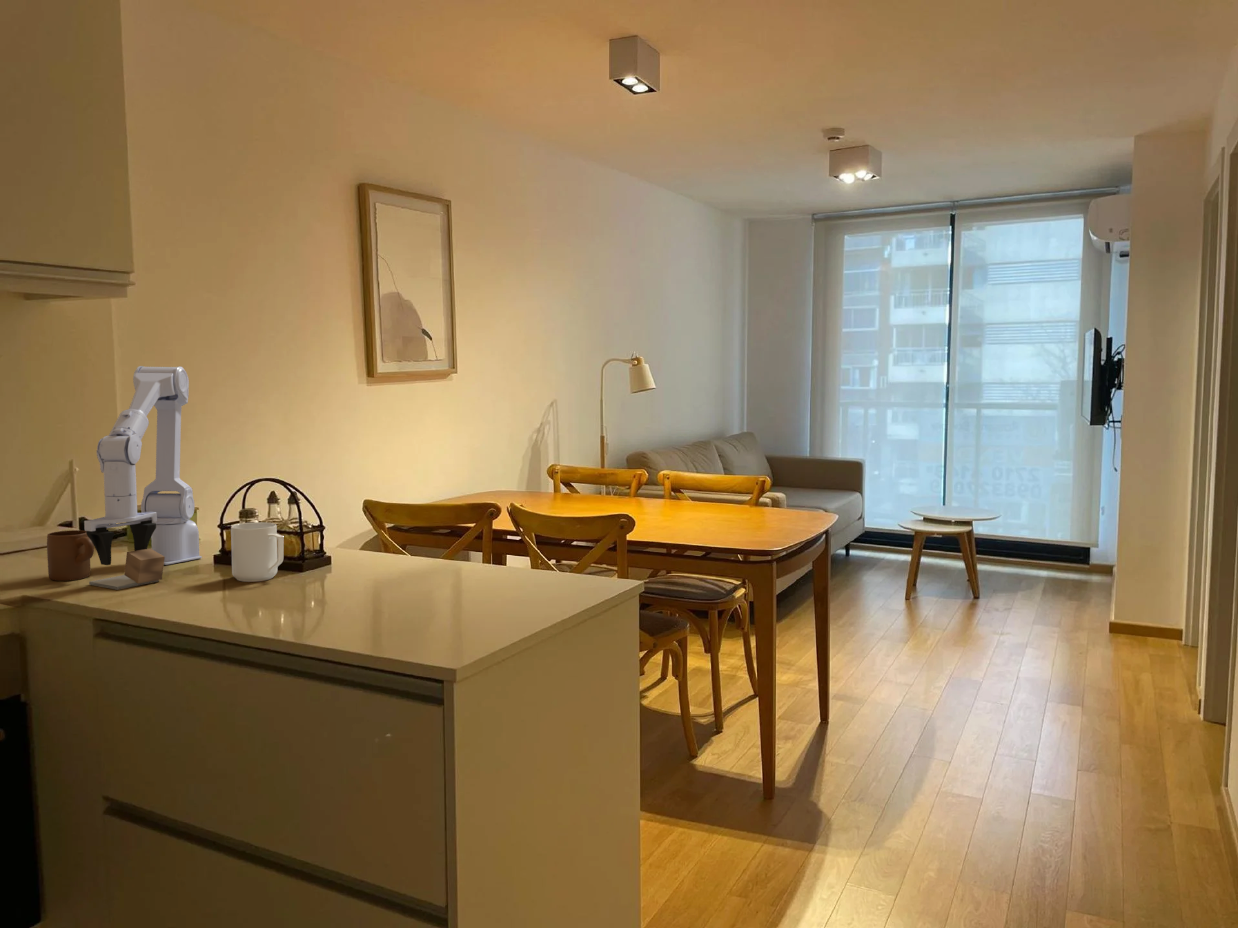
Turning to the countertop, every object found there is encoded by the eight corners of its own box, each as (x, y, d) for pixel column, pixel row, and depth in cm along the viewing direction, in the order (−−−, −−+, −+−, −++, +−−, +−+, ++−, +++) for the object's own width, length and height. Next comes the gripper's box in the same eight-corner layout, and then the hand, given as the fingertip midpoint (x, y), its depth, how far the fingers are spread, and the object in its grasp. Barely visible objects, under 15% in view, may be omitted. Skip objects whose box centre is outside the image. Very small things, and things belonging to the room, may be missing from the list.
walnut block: (147, 571, 192) (150, 548, 191) (161, 579, 190) (164, 556, 189) (124, 574, 188) (126, 551, 187) (138, 583, 186) (141, 560, 185)
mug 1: (111, 578, 192) (109, 534, 191) (74, 585, 185) (72, 539, 184) (77, 572, 198) (75, 528, 197) (40, 578, 191) (38, 533, 190)
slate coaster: (131, 576, 194) (131, 573, 194) (158, 581, 190) (158, 578, 190) (89, 584, 186) (89, 581, 186) (117, 589, 182) (117, 586, 182)
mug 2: (222, 579, 192) (221, 526, 191) (255, 571, 200) (254, 521, 199) (266, 585, 187) (265, 531, 186) (298, 577, 195) (297, 525, 194)
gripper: (139, 489, 195) (142, 553, 196) (73, 497, 182) (76, 565, 183) (162, 492, 192) (165, 556, 193) (96, 500, 179) (99, 569, 180)
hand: (123, 561), depth 188 cm, fingers open, 7 cm apart
